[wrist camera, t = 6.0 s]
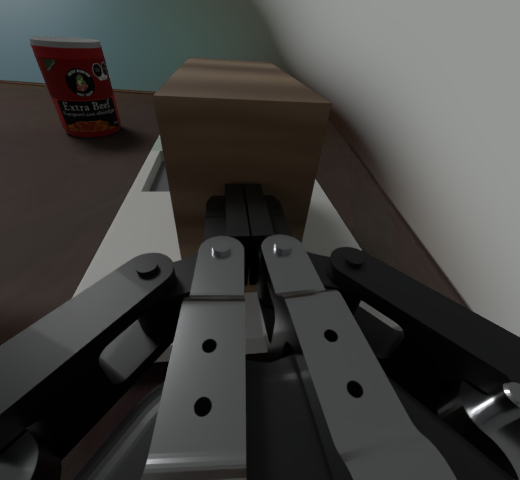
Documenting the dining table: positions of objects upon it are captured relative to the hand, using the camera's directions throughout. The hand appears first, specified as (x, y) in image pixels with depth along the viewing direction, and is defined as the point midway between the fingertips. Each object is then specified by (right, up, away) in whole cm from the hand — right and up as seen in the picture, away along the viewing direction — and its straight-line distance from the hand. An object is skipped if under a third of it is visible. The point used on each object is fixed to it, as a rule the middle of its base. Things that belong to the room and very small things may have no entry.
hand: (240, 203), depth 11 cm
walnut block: (-1, 0, +9) cm, 9 cm away
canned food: (-24, +15, +29) cm, 40 cm away
